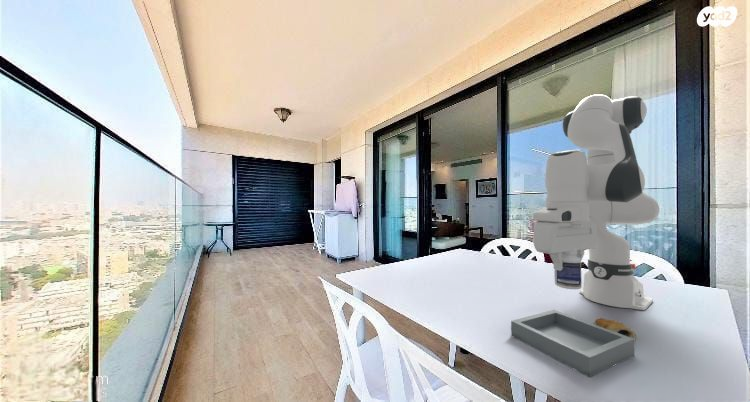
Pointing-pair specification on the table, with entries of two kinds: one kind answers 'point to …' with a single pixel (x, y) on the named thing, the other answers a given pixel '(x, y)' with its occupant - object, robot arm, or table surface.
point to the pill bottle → (569, 271)
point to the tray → (573, 341)
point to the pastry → (615, 327)
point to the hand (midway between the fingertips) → (567, 268)
